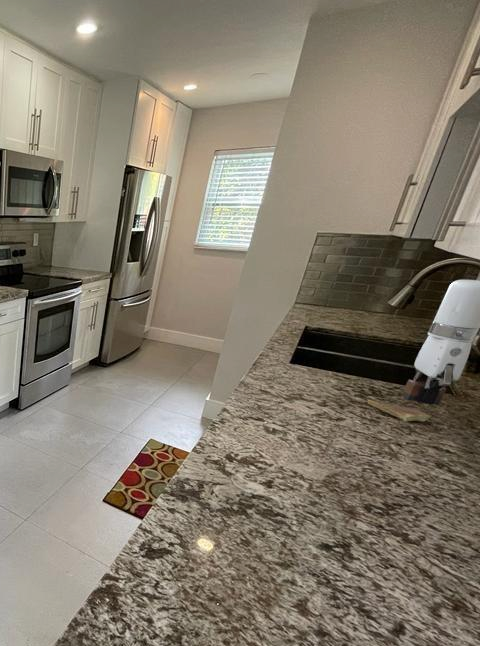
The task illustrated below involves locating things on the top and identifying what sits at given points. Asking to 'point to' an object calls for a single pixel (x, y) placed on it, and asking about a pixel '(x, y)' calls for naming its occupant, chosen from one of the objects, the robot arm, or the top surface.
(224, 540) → the top surface
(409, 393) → the eraser
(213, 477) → the top surface
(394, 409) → the shard
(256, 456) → the top surface
